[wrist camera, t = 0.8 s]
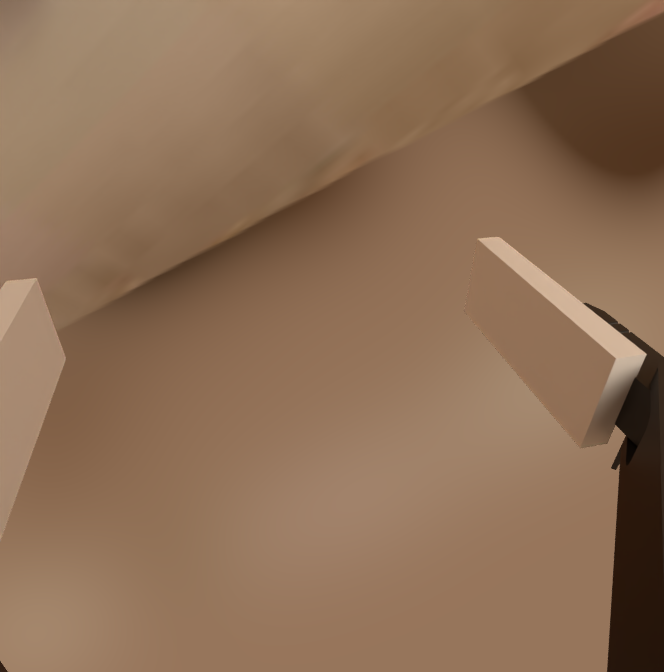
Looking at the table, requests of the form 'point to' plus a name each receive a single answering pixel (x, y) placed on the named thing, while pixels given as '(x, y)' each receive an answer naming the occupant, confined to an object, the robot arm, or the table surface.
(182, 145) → the table surface
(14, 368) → the robot arm
